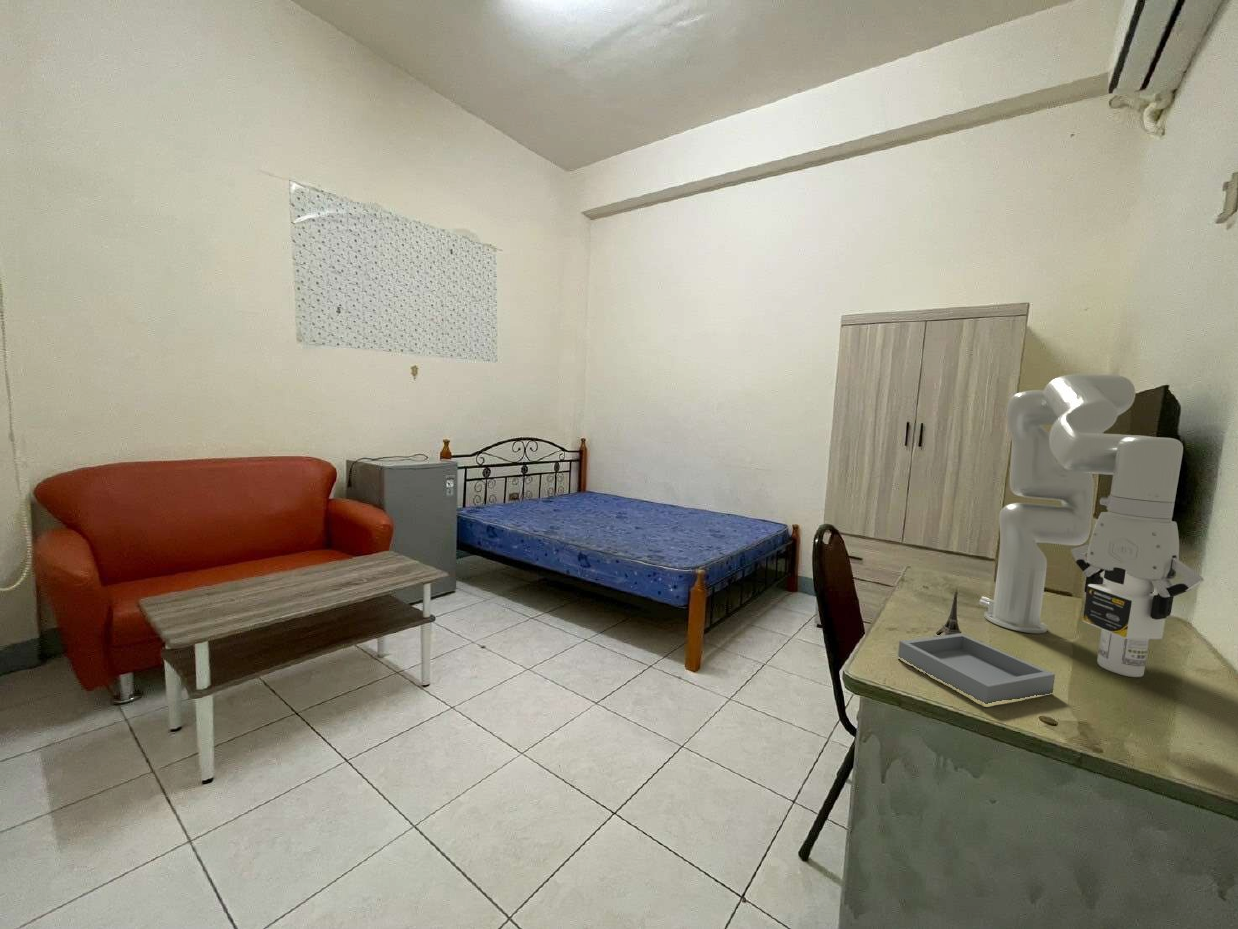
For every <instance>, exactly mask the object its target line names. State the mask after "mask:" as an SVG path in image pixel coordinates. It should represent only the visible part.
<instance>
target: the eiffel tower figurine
mask: <svg viewBox="0 0 1238 929" xmlns="http://www.w3.org/2000/svg"><path fill="white" fill-rule="evenodd" d="M957 588H958V587H956V588H955V591H954V592H953V594H954V595H953V596H954V597H953V600H952V606H951V611H950V613H949V614H950V615H948V616H949V617H948V618H947V620H946V622H945V624H944V625H941V626H942V627H941V628H940V629H939V630H937V631H936V632H935V633H936V634H937V635H943V633H944V635H951V634H959V633H962V631H961V629H960V626H959V624H958V622H959V620H958V612H957V608H958V607H957V606H958V595H959V592H958V591H957Z"/></svg>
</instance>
